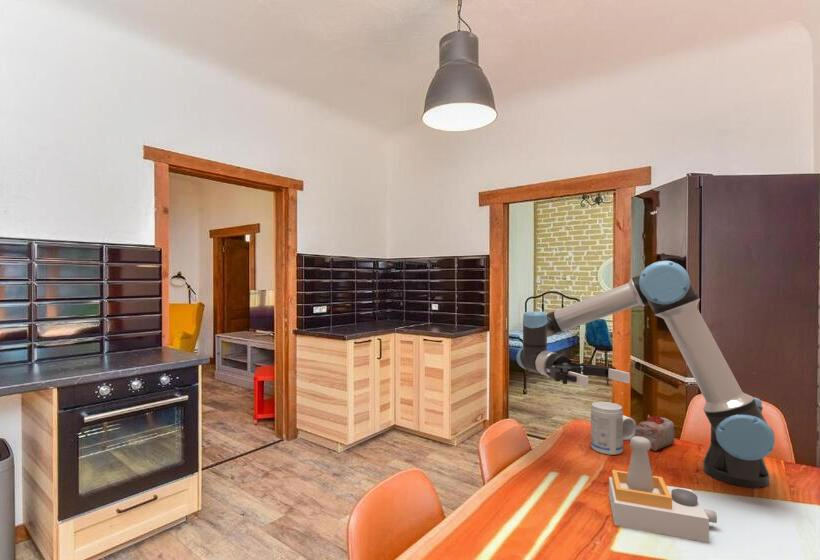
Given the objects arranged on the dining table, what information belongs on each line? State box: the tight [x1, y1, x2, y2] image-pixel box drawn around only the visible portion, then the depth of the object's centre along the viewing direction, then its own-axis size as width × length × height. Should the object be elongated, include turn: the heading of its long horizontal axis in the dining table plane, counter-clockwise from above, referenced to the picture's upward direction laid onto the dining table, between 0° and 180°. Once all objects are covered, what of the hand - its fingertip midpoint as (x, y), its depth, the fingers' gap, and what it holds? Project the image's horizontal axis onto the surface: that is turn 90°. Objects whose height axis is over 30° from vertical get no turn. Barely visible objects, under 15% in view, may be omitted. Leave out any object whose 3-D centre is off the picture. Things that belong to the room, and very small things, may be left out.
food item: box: [634, 414, 675, 452], centre depth 146 cm, size 14×8×10 cm, turn 125°
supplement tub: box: [590, 401, 624, 456], centre depth 141 cm, size 10×10×15 cm
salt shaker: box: [626, 435, 654, 493], centre depth 102 cm, size 6×6×13 cm
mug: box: [623, 414, 637, 441], centre depth 155 cm, size 12×10×8 cm
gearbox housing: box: [608, 469, 718, 544], centre depth 100 cm, size 21×14×8 cm, turn 70°
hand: (608, 380), depth 111 cm, fingers open, 13 cm apart
